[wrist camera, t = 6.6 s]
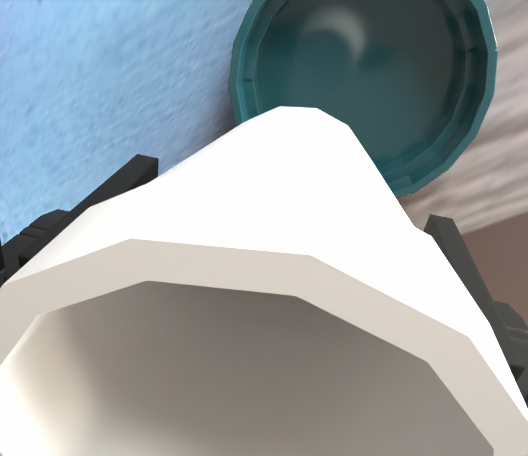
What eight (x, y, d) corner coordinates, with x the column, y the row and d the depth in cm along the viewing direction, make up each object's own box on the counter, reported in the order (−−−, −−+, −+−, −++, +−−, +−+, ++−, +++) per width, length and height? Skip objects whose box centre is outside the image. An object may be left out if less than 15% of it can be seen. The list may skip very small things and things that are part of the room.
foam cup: (191, 261, 21) (29, 570, 10) (177, 60, 17) (-147, 213, 6) (391, 281, 20) (460, 652, 9) (432, 71, 16) (673, 288, 4)
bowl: (230, 159, 38) (217, 179, 34) (261, -80, 29) (248, -90, 25) (428, 201, 37) (438, 227, 33) (521, -33, 28) (549, -36, 24)
